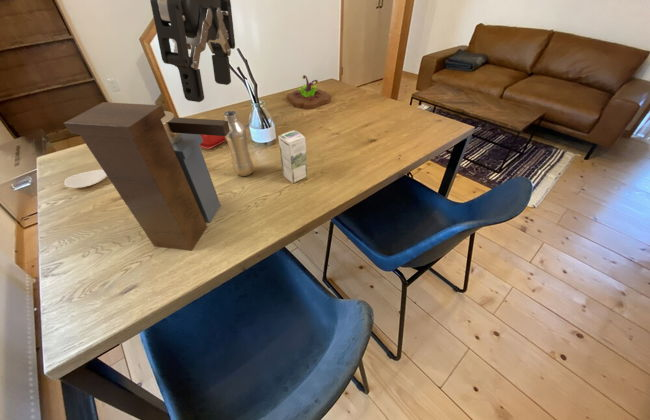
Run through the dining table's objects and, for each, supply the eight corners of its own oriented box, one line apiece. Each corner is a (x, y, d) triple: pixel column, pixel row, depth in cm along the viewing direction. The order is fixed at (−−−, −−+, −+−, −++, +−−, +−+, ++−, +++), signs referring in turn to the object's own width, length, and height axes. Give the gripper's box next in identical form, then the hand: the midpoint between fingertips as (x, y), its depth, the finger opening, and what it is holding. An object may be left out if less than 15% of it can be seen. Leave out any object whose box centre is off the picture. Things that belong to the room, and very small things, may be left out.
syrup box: (297, 169, 91) (293, 128, 81) (308, 177, 88) (305, 135, 78) (282, 176, 89) (277, 134, 79) (293, 184, 85) (288, 142, 75)
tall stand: (194, 252, 66) (129, 127, 44) (148, 247, 67) (63, 122, 45) (211, 226, 72) (161, 105, 51) (169, 221, 74) (103, 102, 52)
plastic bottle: (240, 181, 87) (224, 120, 73) (231, 171, 90) (214, 112, 77) (258, 173, 90) (246, 114, 76) (248, 164, 93) (235, 106, 80)
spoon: (180, 164, 94) (177, 155, 92) (68, 196, 82) (60, 187, 79) (175, 152, 100) (172, 144, 98) (69, 181, 87) (62, 172, 85)
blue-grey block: (212, 224, 73) (182, 151, 58) (170, 220, 74) (130, 147, 59) (224, 204, 78) (200, 133, 64) (185, 201, 80) (153, 130, 65)
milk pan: (223, 154, 57) (216, 131, 53) (135, 147, 59) (123, 125, 56) (237, 136, 63) (232, 114, 59) (157, 130, 65) (147, 109, 61)
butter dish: (208, 152, 100) (201, 130, 94) (190, 143, 105) (182, 122, 99) (233, 140, 106) (228, 119, 101) (215, 131, 112) (209, 111, 106)
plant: (312, 90, 146) (311, 67, 138) (336, 100, 135) (337, 76, 127) (280, 99, 136) (277, 75, 129) (304, 111, 125) (302, 86, 118)
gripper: (186, -67, 34) (207, 76, 44) (95, -99, 22) (152, 103, 32) (246, -60, 33) (254, 83, 43) (184, -88, 22) (213, 112, 32)
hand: (210, 91), depth 38 cm, fingers open, 8 cm apart
